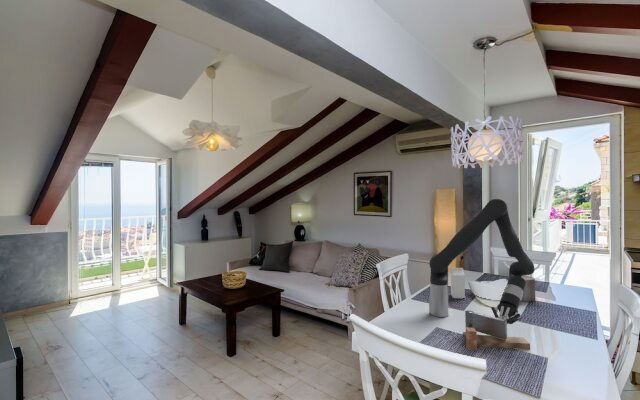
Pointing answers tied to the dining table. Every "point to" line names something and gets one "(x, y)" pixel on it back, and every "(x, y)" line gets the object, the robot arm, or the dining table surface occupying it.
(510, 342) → the door edge
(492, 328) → the bar
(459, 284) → the milk carton
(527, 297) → the pillar candle
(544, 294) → the dining table surface
